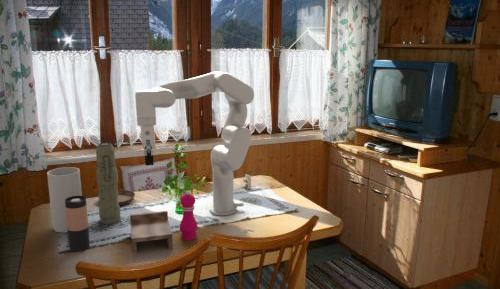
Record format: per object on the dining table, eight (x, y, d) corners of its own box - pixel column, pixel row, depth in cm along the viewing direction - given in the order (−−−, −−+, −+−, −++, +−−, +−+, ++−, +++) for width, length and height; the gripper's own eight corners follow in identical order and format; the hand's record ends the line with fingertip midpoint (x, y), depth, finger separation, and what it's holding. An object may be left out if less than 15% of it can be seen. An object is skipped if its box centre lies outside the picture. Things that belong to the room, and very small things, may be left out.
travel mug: (72, 243, 176) (68, 195, 172) (92, 243, 177) (88, 195, 172) (66, 252, 169) (61, 202, 164) (87, 251, 170) (83, 202, 165)
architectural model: (245, 190, 240) (245, 177, 239) (239, 187, 246) (239, 174, 245) (251, 189, 242) (251, 176, 240) (245, 186, 248) (245, 173, 246)
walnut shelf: (168, 230, 188) (167, 210, 186) (172, 248, 173) (172, 226, 170) (131, 235, 184) (130, 214, 182) (132, 253, 168) (131, 231, 166)
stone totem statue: (118, 214, 206) (112, 140, 198) (123, 223, 196) (118, 145, 188) (98, 217, 202) (91, 142, 194) (102, 226, 192) (96, 147, 184)
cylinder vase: (53, 224, 195) (47, 169, 189) (83, 219, 200) (78, 165, 194) (53, 235, 184) (46, 177, 178) (85, 230, 189) (80, 173, 183)
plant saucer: (136, 205, 218) (135, 199, 217) (98, 209, 213) (97, 203, 212) (134, 193, 234) (134, 188, 234) (99, 197, 229) (98, 191, 229)
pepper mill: (194, 241, 178) (193, 194, 174) (177, 240, 180) (175, 192, 175) (200, 234, 185) (198, 188, 181) (183, 232, 187) (181, 187, 182)
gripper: (157, 124, 173) (159, 166, 177) (155, 116, 189) (157, 155, 193) (137, 125, 171) (140, 168, 175) (137, 117, 188) (139, 157, 192)
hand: (149, 161), depth 184 cm, fingers open, 9 cm apart
